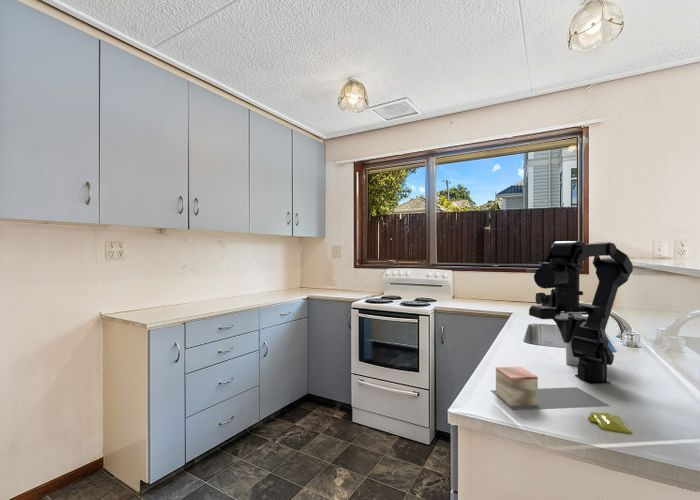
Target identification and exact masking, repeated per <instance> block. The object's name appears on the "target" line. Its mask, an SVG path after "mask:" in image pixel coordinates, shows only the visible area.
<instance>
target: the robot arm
mask: <svg viewBox="0 0 700 500" xmlns="http://www.w3.org/2000/svg"><path fill="white" fill-rule="evenodd" d="M600 256H602V258H601V257H600ZM603 256H604V257H603ZM605 256H607V257H605ZM608 256H609V257H610V258H609V257H608ZM590 257H593V260H592V265H593V266H594V267H593V268H595V274H596V276H597V277H596V278H597V279H598V284H597V287H596V289H595V293H594V296H593V299H592V302H591V304H580V296H583V295H584V291H582V290H580V271H582V270H583V269H584V267H583V266H582V265H581V264H580V262H582V261H585V260H586V259H587V258H590ZM540 264H541V265H540V266H541V267H539V268H537V270H536V271H535V272H534V275H533V280H534V283H535V284H536V285H537V286H538V287H539V288H541V289H546V290H547V289H551V290H550V294H546V293H545V292H537V293H535V303H536V305H530V307H529V309H528V315H529V316H531V317H534V318H537V319H540V320H553V321H554V322H555V324H556V326H557V328H558V331H559V333H560V335H561V338H562V340H563V342H564V343H565V344H566V343H570V341H571V348H572V353H573V357H577V358H579V364H578V365H577V374H574V377H576V378H578V379H580V380H582V381H584V382H586V383H588V384H590V385H601V384H604V385H605V384H612V381H609V380H607V378H608V375H607V374H608V373H607V372H608V368H607V367H608V366H612V365H613V363H614V359H615V358H614V357H615V355H614V353H613V352H612V350H611V349H610V347H609V338H608V336H607V334H606V329H607V326H608V322H609V319H610V316H611V312H612V308H613V306H614V302H615V299H616V295H617V293H618V289H619V288H620V287H621V286H623V285H624V284H625V283H627V282H628V280H629V279H630V276H631V275H632V273H633V270H634V265H633V263H632V261H631V260H630V258H629V255H627V253H624V252H623V251H621V250H620V249H618V247H617V246H616V244H615V243H614V242H611V241H609V242H607V241H606V242H604V241H603V242H602V241H600V242H594V243H586V242H584V241H580V240H576V241H575V240H573V241H572V240H571V241H570V240H567V241H566V240H564V241H559V240H558V241H557V240H556V241H554V242H553V243H552V245H551V246H550V248H549V250H548V252H547V254H546V256H545V258H544V261H543V262H541V263H540ZM582 315H588V317H587V320H586V319H583V318H582ZM583 322H586V323H585V324H584V325H583V326H581V325H582V323H583Z"/></svg>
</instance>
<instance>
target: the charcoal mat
mask: <svg viewBox="0 0 700 500" xmlns="http://www.w3.org/2000/svg"><path fill="white" fill-rule="evenodd" d="M490 392H491V393H492V394H493V395H495V397H497V398H498V399H499V400H500V401H502V403H504V404H505V405H507V407H509V408H510V409H511V410H512V411H526V410H527V411H529V410H531V411H532V410H549V409H550V410H551V409H573V408H574V409H575V408H578V409H579V408H596V407H597V408H599V407H611V405H609V404H608V403H606V402H604V401H603V400H601V399H598V398H597V397H595V396H593V395H591V394H590V393H588V392H586V391H585V390H582V389H580V388H579V387H577V386H575V387H574V386H573V387H571V386H570V387H552V388H550V387H548V388H538V405H525V406H510V405H509V404H507V403H506V402H505V401H504V400H503V399H502V398H500V397H499V396H498V395H497V394H496V389H495V390H490Z"/></svg>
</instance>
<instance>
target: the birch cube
mask: <svg viewBox="0 0 700 500" xmlns="http://www.w3.org/2000/svg"><path fill="white" fill-rule="evenodd" d="M538 381H539V377H538V376H537V375H536V374H533V373H532V372H531V371H530V370H527V369H526V368H524V367H522V366H504V367H503V366H502V367H501V366H500V367H495V390H496V394H497V395H498V396H499V397H500V398H502V399H503V400H504V401H505V402H506V403H507V404H509V405H510V406H525V405H538V389H539V387H538V386H539V384H538V383H539V382H538Z"/></svg>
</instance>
